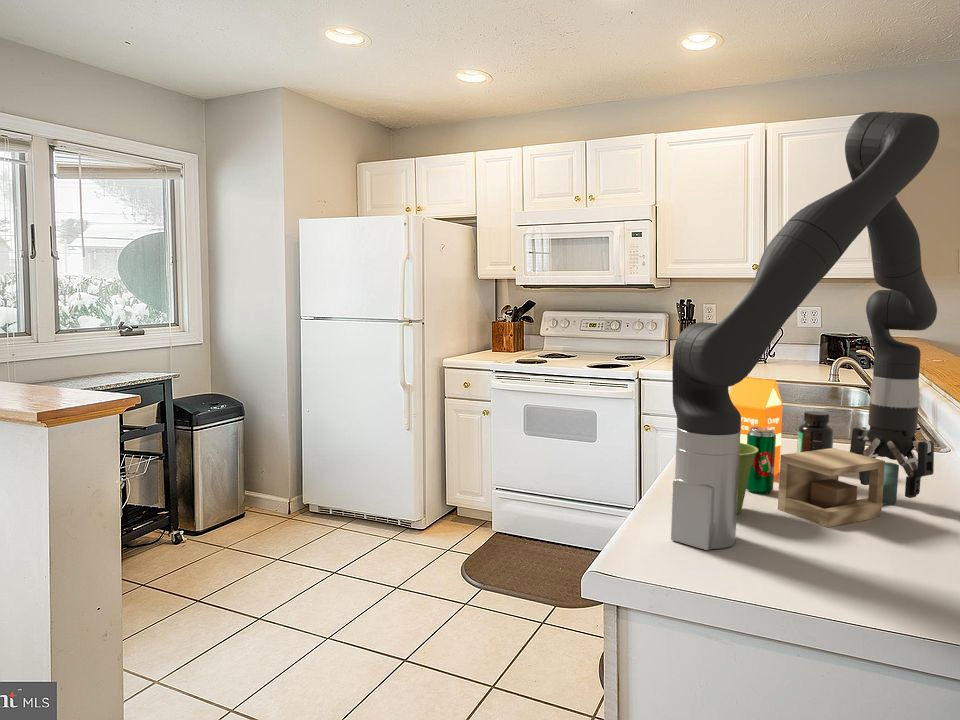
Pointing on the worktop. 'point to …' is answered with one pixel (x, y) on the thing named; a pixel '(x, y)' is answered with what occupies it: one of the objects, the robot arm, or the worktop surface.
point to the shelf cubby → (823, 466)
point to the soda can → (762, 460)
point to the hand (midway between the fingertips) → (887, 490)
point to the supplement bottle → (815, 432)
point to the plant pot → (744, 471)
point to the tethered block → (852, 490)
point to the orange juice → (759, 408)
